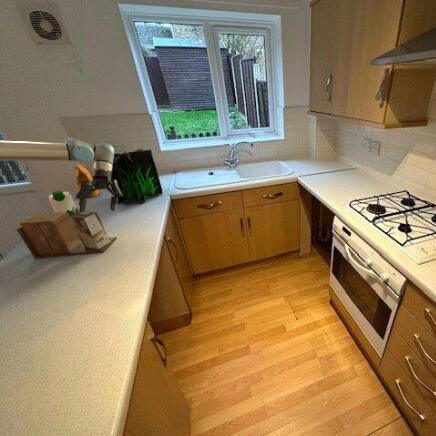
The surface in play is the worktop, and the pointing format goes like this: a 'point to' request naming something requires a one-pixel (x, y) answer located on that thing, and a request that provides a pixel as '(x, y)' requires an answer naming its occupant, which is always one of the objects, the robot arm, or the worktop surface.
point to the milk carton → (63, 202)
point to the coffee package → (84, 178)
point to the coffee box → (89, 229)
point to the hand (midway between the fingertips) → (97, 211)
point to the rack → (54, 236)
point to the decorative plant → (135, 175)
